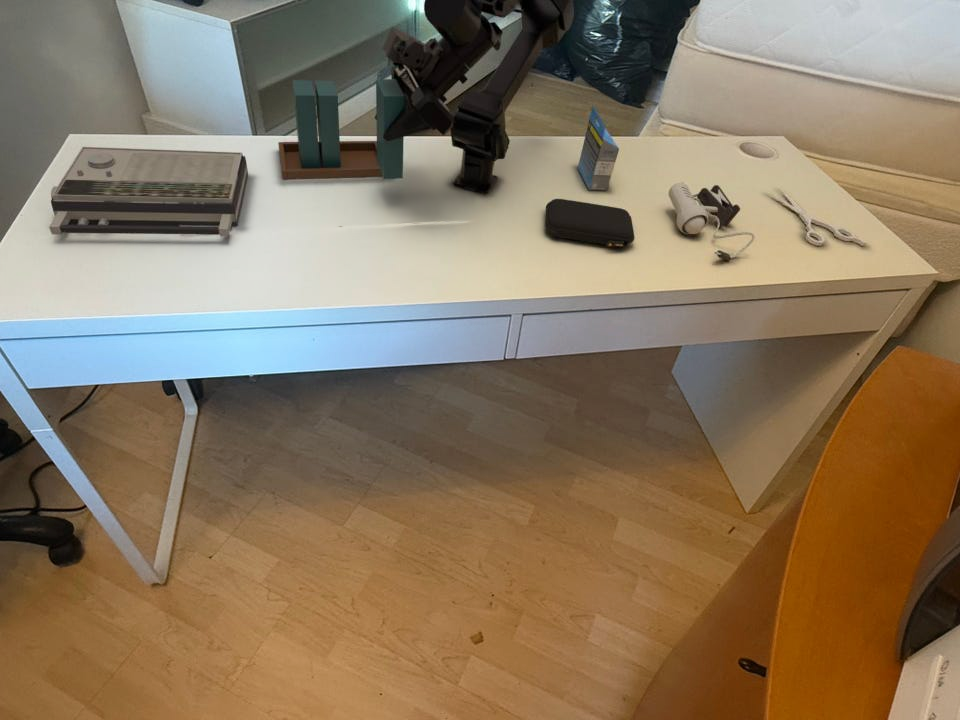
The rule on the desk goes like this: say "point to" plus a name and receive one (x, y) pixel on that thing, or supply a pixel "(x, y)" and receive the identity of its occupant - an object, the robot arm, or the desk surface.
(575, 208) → the carrying case
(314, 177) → the book tray
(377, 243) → the desk surface
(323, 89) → the teal book
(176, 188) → the radio
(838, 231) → the scissors
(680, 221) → the clip-on lamp
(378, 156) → the slim teal book
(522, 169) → the desk surface
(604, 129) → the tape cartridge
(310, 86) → the teal book
